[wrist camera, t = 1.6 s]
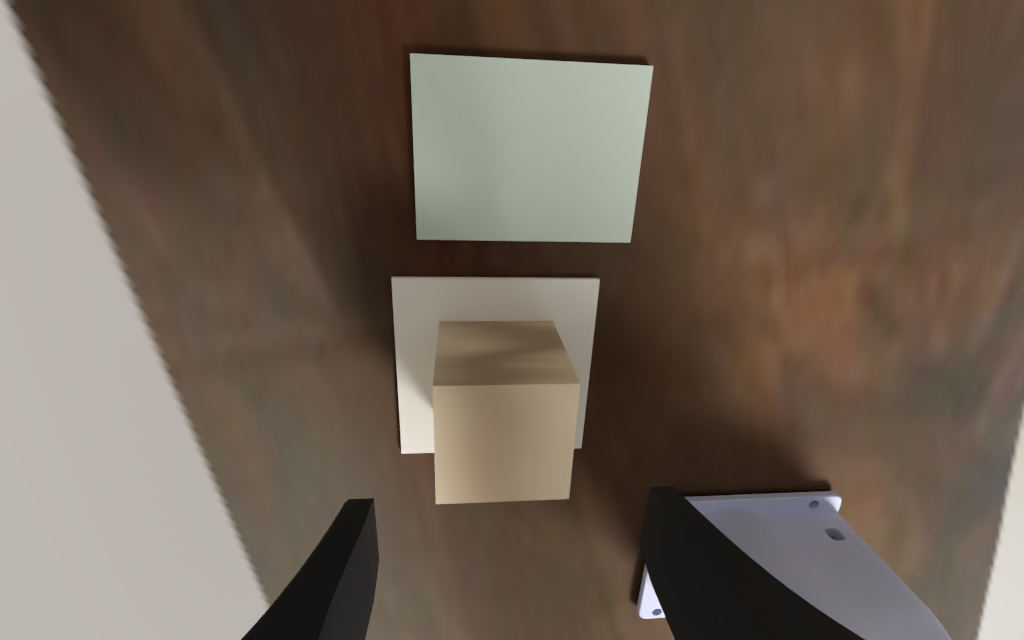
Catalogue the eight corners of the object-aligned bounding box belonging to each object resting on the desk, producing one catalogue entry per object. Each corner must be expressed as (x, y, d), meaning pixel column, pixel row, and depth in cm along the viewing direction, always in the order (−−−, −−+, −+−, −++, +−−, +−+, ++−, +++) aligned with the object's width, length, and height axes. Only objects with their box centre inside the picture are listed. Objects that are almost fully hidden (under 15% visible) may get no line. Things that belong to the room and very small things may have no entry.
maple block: (552, 321, 20) (580, 383, 15) (545, 416, 22) (568, 498, 17) (439, 321, 19) (432, 386, 15) (441, 419, 21) (435, 504, 16)
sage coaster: (650, 66, 17) (653, 65, 17) (628, 240, 19) (630, 242, 19) (410, 54, 16) (409, 52, 16) (417, 237, 18) (416, 239, 18)
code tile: (598, 277, 20) (600, 279, 19) (580, 445, 23) (581, 449, 22) (391, 276, 19) (391, 278, 19) (401, 450, 22) (401, 454, 22)
